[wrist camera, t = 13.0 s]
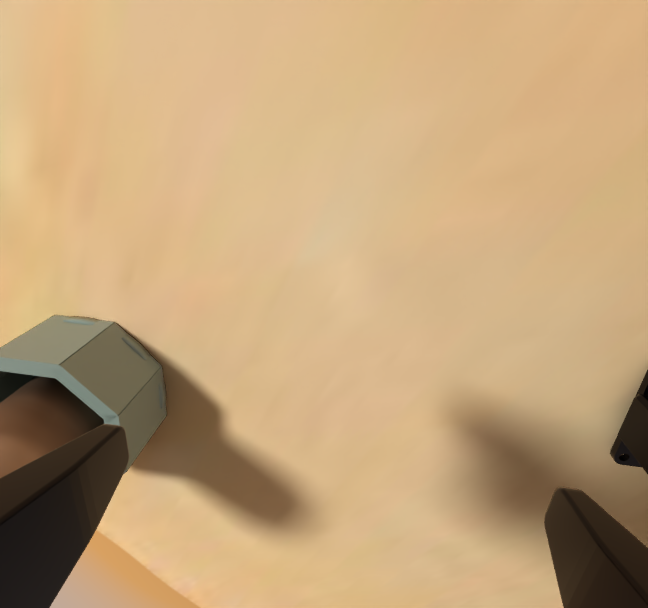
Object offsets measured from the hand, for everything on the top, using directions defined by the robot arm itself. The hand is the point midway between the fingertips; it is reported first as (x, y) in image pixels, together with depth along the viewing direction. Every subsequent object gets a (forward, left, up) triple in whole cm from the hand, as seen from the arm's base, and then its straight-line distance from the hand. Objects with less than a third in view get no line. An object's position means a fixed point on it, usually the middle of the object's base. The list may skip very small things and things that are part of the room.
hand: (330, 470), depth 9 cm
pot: (+15, +9, -13) cm, 22 cm away
